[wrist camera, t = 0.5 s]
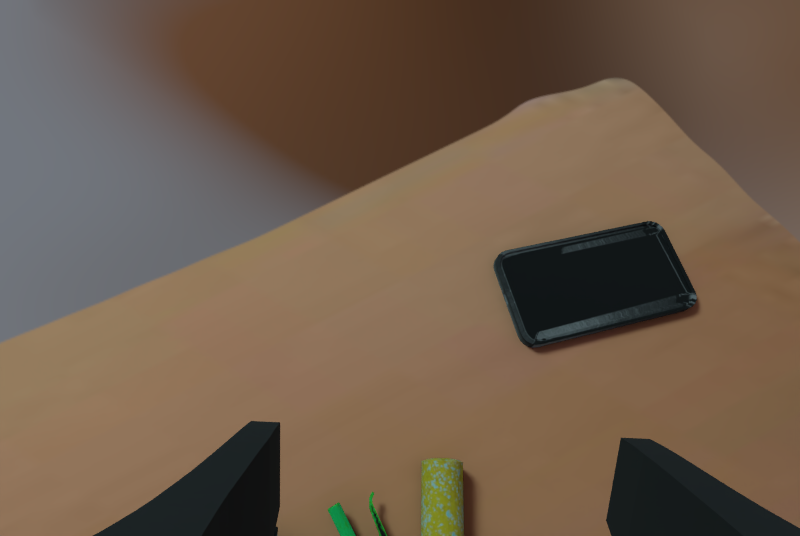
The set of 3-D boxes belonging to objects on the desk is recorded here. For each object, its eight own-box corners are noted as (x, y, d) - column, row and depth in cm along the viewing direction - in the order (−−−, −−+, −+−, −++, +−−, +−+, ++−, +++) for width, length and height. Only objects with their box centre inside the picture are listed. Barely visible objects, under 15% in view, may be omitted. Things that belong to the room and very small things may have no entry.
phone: (701, 304, 44) (526, 347, 41) (693, 309, 45) (521, 351, 42) (658, 217, 47) (491, 251, 44) (651, 224, 48) (488, 258, 45)
